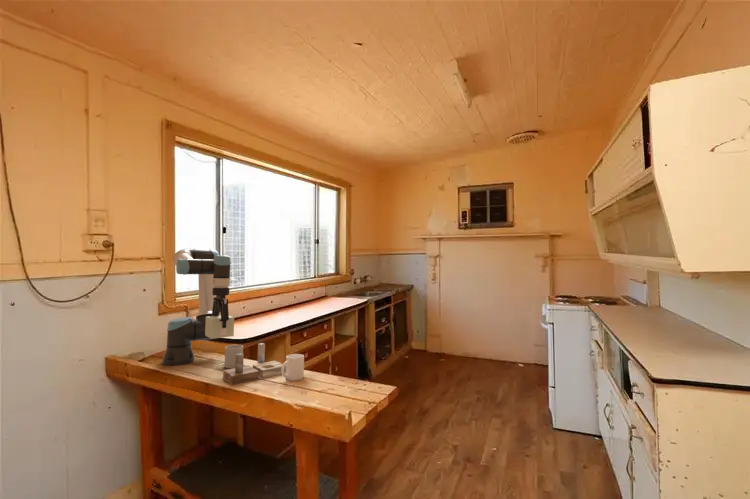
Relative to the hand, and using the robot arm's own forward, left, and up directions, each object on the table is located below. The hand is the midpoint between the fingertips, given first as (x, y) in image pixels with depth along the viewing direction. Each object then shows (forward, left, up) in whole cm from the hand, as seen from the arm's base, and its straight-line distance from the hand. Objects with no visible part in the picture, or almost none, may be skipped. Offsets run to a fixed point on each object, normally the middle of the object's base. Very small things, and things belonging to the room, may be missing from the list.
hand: (219, 333), depth 165 cm
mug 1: (-11, +12, -20) cm, 26 cm away
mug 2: (+28, +24, -20) cm, 42 cm away
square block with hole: (+12, +21, -20) cm, 31 cm away
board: (+12, +7, -20) cm, 24 cm away
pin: (+1, +21, -20) cm, 29 cm away
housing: (0, 0, -1) cm, 1 cm away
